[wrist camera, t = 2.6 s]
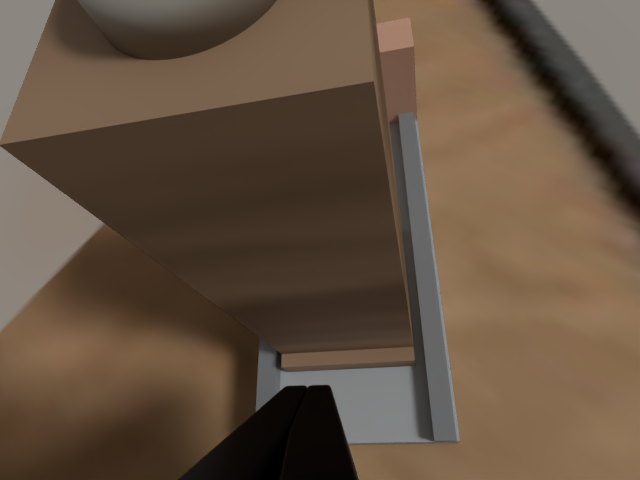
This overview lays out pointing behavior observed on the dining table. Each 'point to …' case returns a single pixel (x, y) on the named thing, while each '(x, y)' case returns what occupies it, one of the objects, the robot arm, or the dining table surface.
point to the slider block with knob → (234, 160)
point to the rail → (423, 288)
